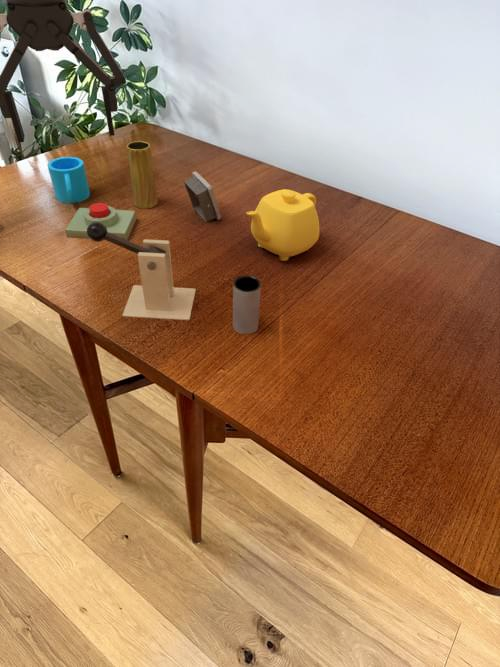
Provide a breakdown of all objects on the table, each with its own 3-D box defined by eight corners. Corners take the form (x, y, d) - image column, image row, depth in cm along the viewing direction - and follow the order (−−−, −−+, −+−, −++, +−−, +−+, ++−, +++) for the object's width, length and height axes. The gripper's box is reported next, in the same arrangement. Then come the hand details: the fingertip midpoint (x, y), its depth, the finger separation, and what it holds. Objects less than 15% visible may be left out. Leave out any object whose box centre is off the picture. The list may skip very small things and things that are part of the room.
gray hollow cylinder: (232, 337, 81) (232, 291, 74) (233, 320, 84) (233, 274, 77) (258, 338, 81) (261, 292, 74) (257, 321, 84) (260, 275, 77)
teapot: (332, 246, 103) (342, 193, 95) (266, 279, 93) (270, 223, 85) (289, 221, 111) (294, 170, 102) (223, 249, 101) (223, 195, 92)
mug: (55, 189, 118) (47, 158, 112) (89, 186, 120) (82, 155, 114) (56, 212, 110) (47, 179, 104) (92, 208, 112) (85, 176, 106)
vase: (131, 209, 112) (122, 150, 102) (135, 197, 117) (126, 139, 107) (156, 209, 113) (150, 150, 103) (159, 197, 117) (153, 140, 107)
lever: (82, 240, 75) (86, 225, 73) (88, 230, 77) (92, 215, 75) (157, 272, 79) (164, 258, 77) (161, 261, 81) (167, 247, 79)
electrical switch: (222, 220, 110) (218, 184, 103) (202, 227, 108) (197, 190, 102) (206, 203, 116) (201, 168, 109) (187, 209, 114) (181, 174, 108)
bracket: (122, 320, 83) (110, 260, 74) (134, 289, 89) (124, 231, 81) (189, 324, 83) (185, 265, 74) (196, 293, 89) (193, 235, 81)
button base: (67, 238, 102) (63, 222, 99) (81, 216, 109) (77, 200, 106) (126, 242, 102) (123, 226, 99) (136, 219, 109) (134, 203, 106)
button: (88, 218, 101) (86, 211, 100) (93, 209, 104) (92, 202, 103) (106, 219, 101) (105, 212, 100) (111, 210, 104) (110, 203, 103)
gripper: (-89, -33, 53) (-22, 151, 68) (131, -31, 59) (150, 138, 74) (-76, -40, 58) (-16, 133, 73) (125, -37, 64) (143, 122, 79)
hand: (67, 136), depth 73 cm, fingers open, 13 cm apart
